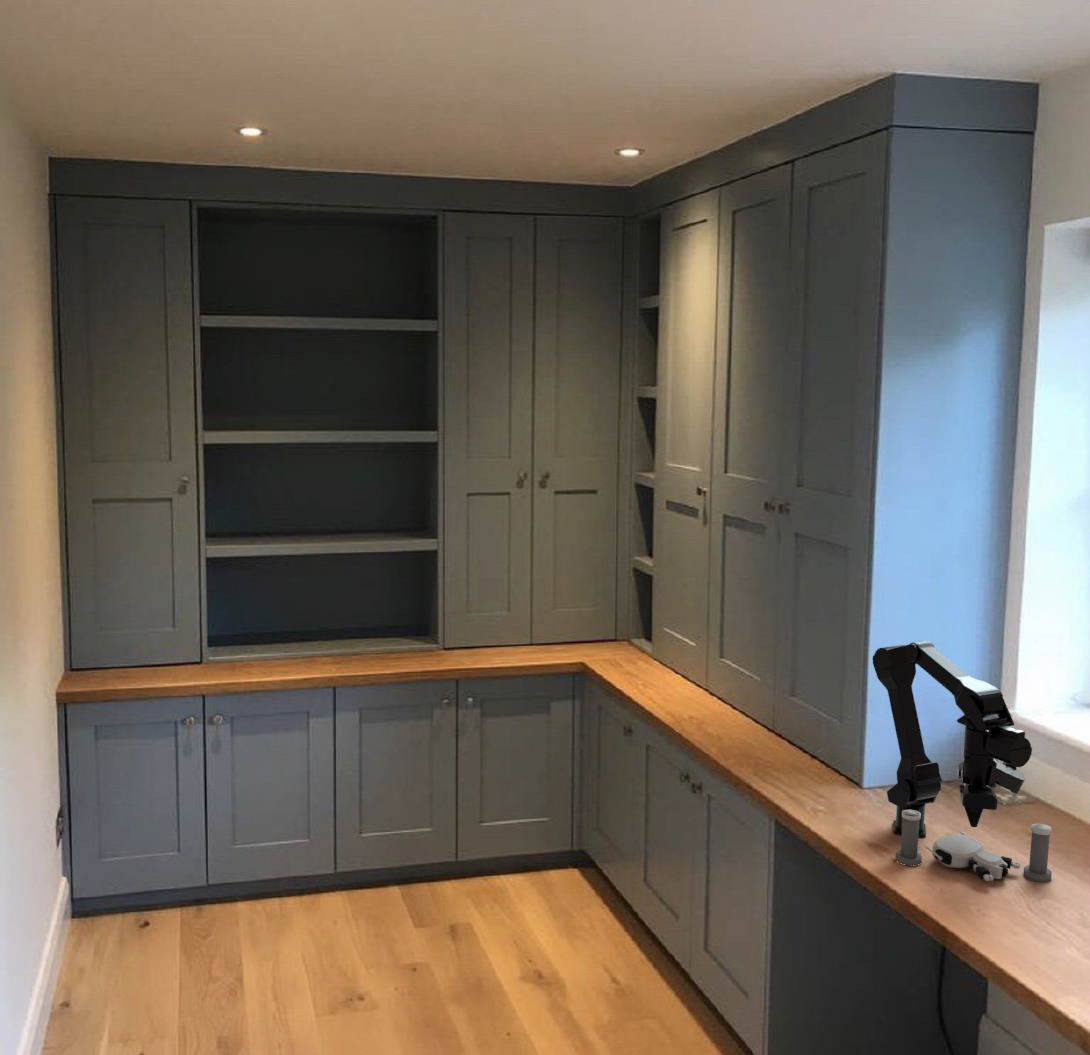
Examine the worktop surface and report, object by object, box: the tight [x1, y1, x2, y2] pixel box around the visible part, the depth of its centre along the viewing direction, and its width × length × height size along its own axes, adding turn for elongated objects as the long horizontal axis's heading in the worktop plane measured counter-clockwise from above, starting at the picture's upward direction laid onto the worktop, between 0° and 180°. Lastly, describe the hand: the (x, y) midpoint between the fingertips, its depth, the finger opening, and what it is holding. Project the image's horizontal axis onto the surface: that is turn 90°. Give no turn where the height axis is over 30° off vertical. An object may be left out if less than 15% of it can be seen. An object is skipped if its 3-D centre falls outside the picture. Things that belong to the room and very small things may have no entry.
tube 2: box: [1023, 823, 1052, 883], centre depth 239 cm, size 5×5×10 cm
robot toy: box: [924, 831, 1021, 882], centre depth 242 cm, size 12×4×15 cm
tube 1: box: [894, 810, 923, 867], centre depth 245 cm, size 5×5×10 cm
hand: (973, 826), depth 244 cm, fingers closed
